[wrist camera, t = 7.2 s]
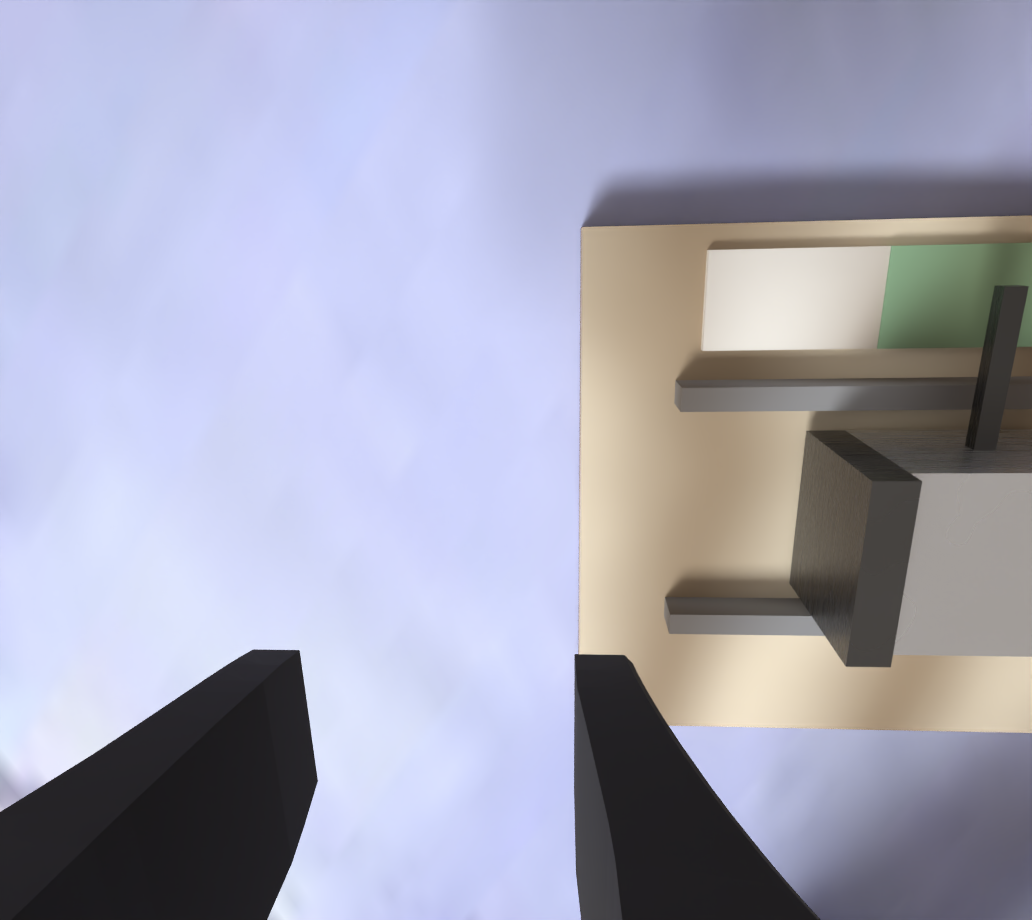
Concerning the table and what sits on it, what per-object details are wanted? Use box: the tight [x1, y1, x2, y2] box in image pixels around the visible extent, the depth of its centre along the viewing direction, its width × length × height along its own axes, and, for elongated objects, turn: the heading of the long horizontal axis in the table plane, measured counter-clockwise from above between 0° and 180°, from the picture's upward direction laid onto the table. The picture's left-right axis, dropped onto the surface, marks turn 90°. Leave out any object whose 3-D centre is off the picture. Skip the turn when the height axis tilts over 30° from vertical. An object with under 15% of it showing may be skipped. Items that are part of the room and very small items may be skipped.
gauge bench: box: [578, 215, 1032, 733], centre depth 14 cm, size 17×12×5 cm
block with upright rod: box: [789, 285, 1032, 667], centre depth 13 cm, size 5×7×3 cm
